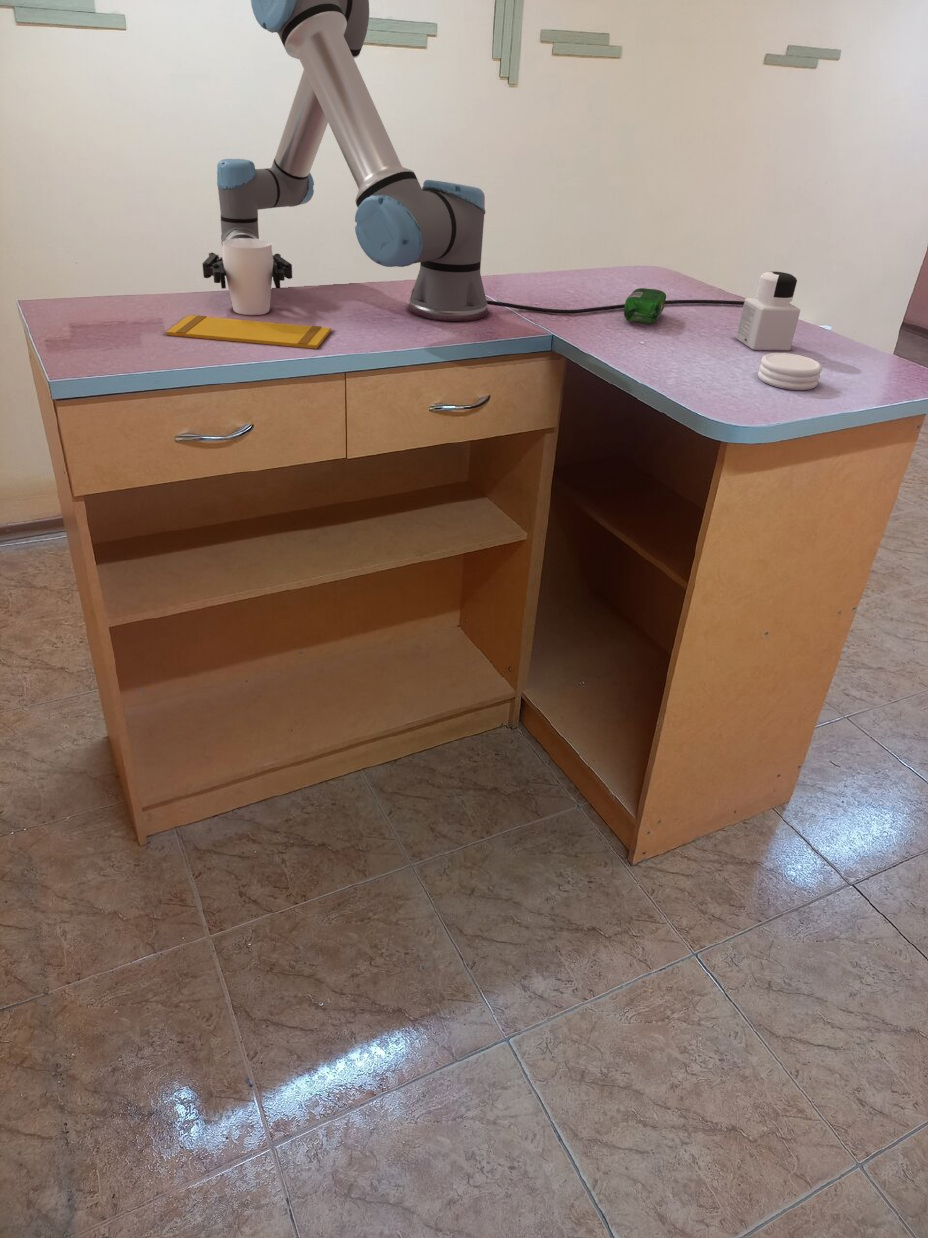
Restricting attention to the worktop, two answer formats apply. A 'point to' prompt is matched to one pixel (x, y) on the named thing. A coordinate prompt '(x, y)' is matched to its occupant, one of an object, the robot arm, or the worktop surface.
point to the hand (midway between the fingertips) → (250, 280)
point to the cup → (248, 274)
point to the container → (770, 314)
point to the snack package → (644, 305)
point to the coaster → (789, 371)
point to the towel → (250, 331)
